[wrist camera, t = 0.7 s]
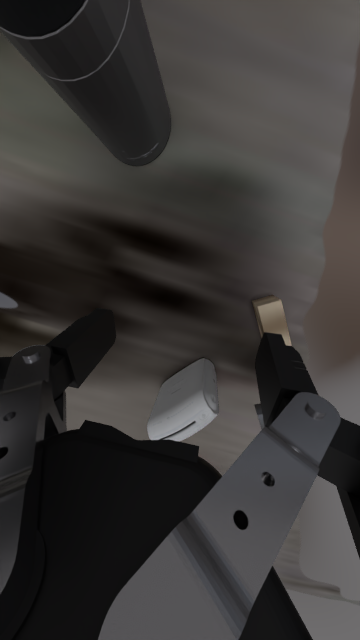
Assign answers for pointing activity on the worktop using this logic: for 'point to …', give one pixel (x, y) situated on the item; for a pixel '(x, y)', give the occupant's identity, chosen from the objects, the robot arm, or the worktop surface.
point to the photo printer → (185, 403)
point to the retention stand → (270, 326)
